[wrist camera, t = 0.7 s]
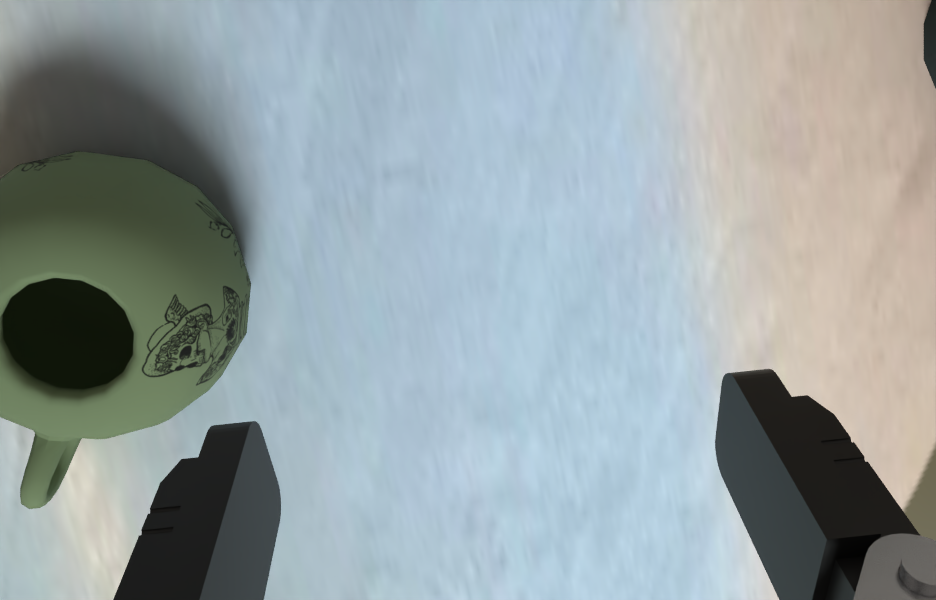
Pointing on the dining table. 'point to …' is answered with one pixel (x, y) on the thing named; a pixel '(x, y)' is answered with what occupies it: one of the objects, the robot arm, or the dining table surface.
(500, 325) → the dining table surface
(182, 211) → the mug
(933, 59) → the mug
